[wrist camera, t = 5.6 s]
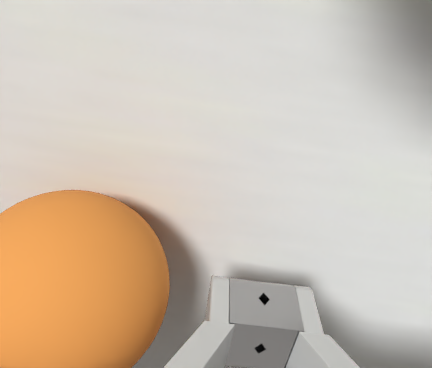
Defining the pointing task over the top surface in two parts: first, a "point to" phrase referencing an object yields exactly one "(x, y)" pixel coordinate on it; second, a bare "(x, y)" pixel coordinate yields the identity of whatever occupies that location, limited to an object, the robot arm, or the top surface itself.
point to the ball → (78, 282)
